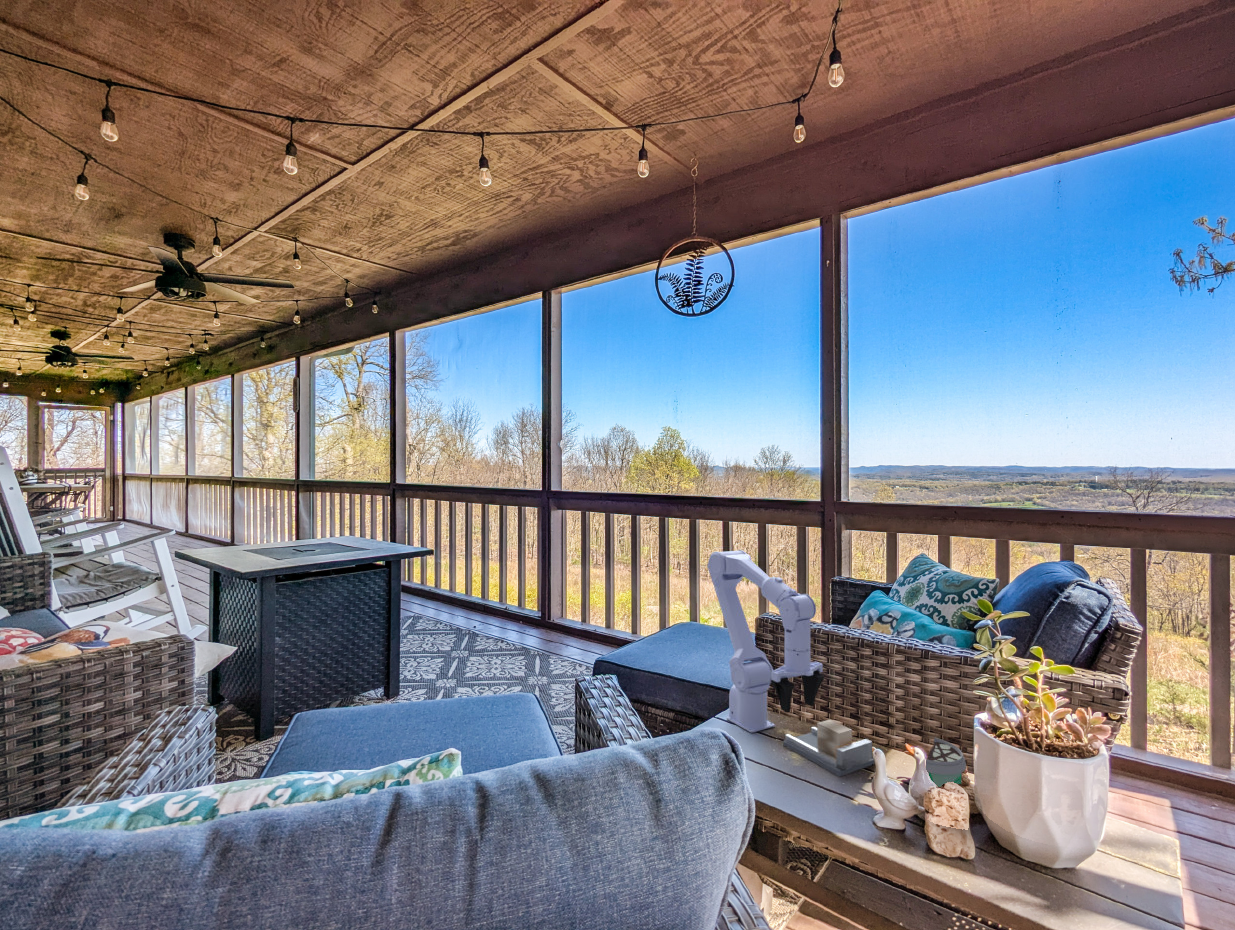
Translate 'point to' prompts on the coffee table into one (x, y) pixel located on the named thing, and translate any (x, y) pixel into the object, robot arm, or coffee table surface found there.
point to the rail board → (844, 763)
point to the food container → (945, 763)
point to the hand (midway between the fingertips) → (797, 707)
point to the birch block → (832, 736)
